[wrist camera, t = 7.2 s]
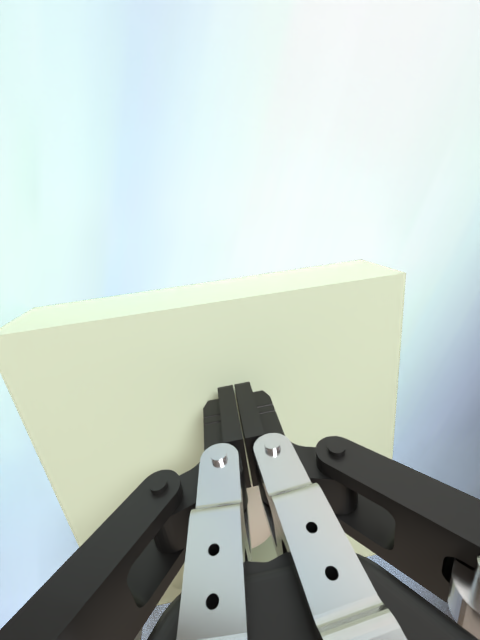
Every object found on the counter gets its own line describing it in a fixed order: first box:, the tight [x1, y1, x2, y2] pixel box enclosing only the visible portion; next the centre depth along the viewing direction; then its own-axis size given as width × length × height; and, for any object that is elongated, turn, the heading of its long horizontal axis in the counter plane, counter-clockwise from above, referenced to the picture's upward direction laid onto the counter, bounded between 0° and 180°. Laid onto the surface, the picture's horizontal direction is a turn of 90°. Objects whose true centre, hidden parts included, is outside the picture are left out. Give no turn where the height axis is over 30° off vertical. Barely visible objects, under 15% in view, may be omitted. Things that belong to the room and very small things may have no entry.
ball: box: [246, 483, 271, 549], centre depth 19 cm, size 5×5×5 cm
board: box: [0, 260, 406, 640], centre depth 13 cm, size 20×19×16 cm
